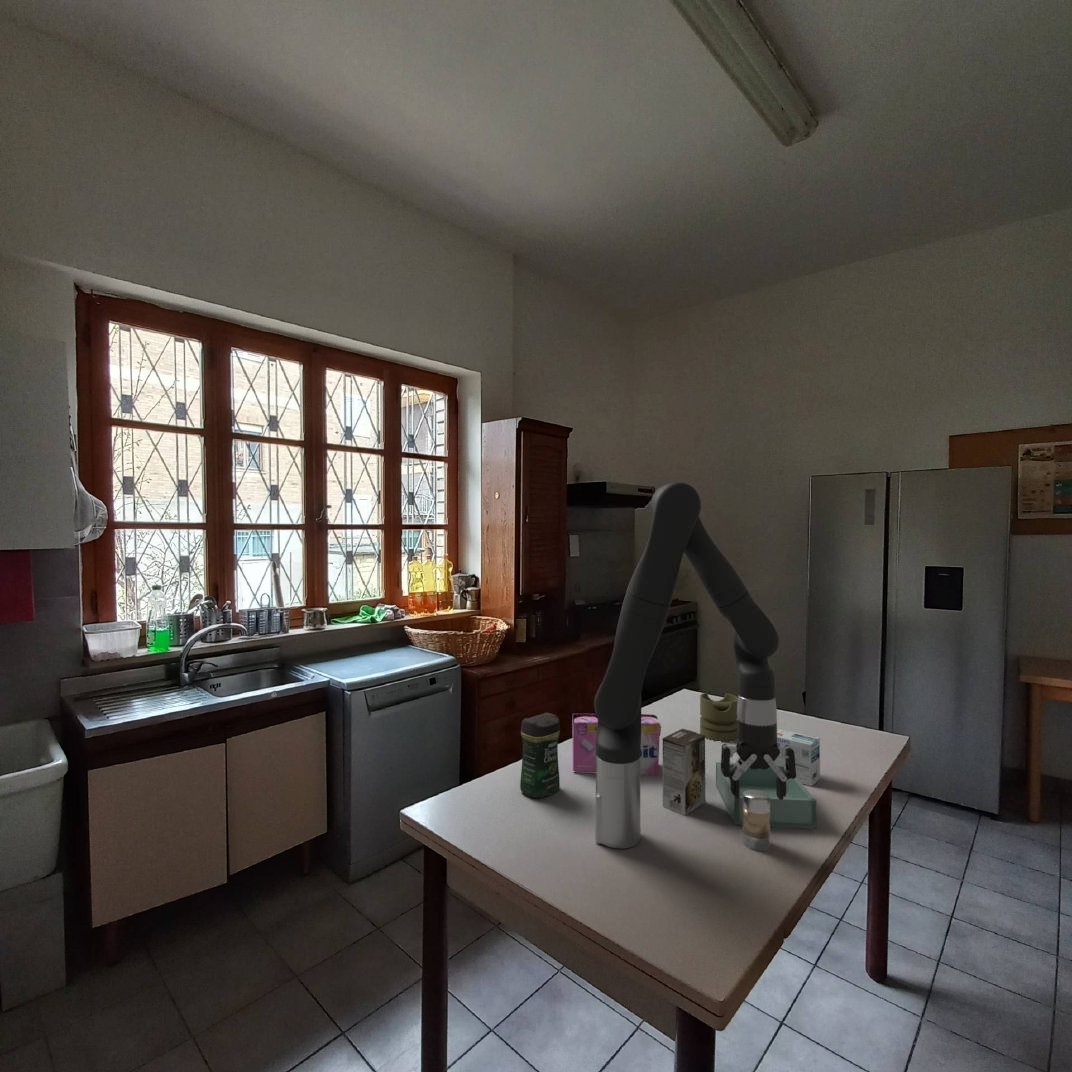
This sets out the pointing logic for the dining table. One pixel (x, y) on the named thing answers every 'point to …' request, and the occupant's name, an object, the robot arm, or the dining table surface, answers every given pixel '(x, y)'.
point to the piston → (719, 718)
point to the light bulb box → (801, 755)
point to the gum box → (587, 734)
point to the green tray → (783, 813)
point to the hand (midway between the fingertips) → (758, 797)
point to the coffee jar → (540, 755)
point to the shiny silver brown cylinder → (756, 820)
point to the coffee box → (683, 771)
